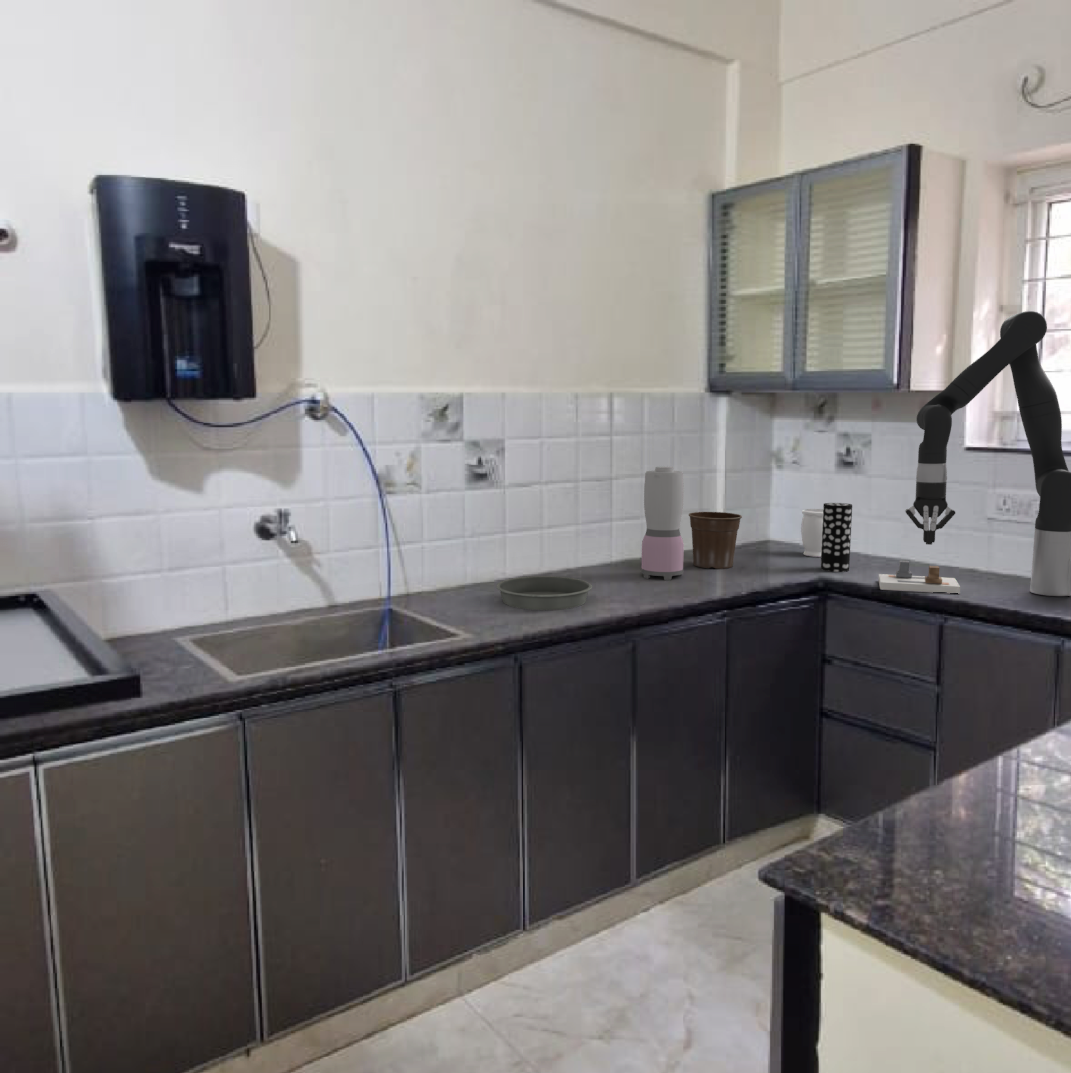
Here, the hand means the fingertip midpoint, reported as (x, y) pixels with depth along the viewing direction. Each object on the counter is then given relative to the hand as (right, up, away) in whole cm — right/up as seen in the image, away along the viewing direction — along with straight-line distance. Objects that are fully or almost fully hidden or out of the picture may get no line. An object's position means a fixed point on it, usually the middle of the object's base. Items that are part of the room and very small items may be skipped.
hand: (928, 544), depth 257 cm
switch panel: (-1, -12, +6) cm, 13 cm away
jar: (-13, -4, +59) cm, 61 cm away
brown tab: (+2, -10, +1) cm, 11 cm away
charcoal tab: (-3, -9, +10) cm, 14 cm away
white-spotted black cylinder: (-15, -8, +33) cm, 37 cm away
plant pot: (-51, -7, +39) cm, 65 cm away
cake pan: (-104, -15, -13) cm, 106 cm away
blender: (-69, -10, +23) cm, 73 cm away
